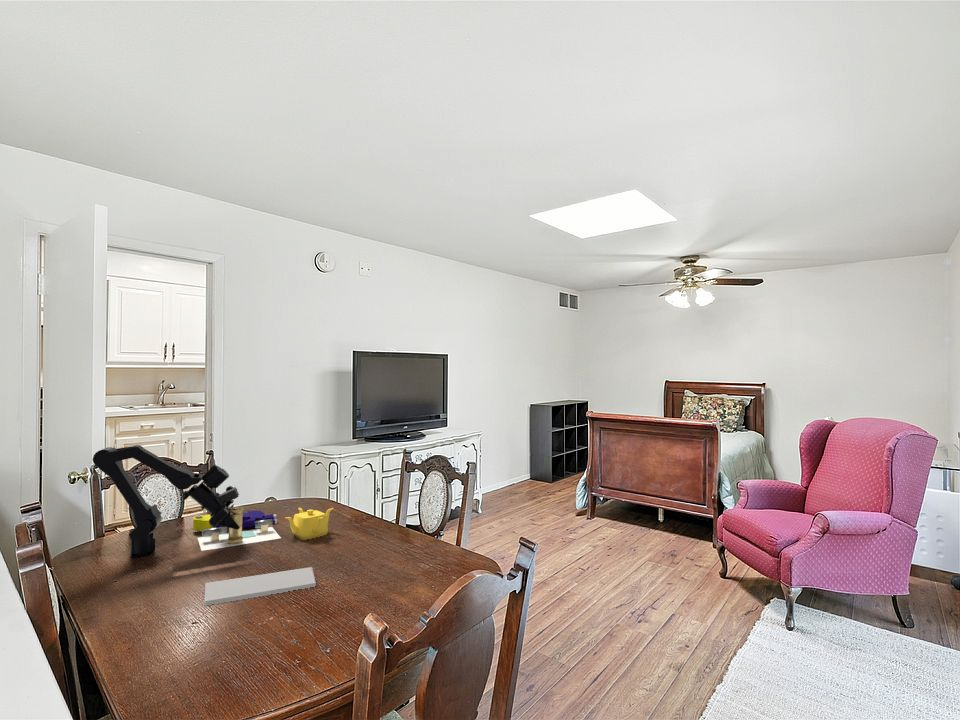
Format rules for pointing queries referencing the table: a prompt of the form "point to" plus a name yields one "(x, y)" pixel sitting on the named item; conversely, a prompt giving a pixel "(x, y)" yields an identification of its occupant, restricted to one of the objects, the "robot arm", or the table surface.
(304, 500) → the table surface
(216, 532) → the shafts
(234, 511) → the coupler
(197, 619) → the table surface
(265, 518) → the toy
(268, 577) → the grey flat slab
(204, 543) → the board
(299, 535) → the teapot
